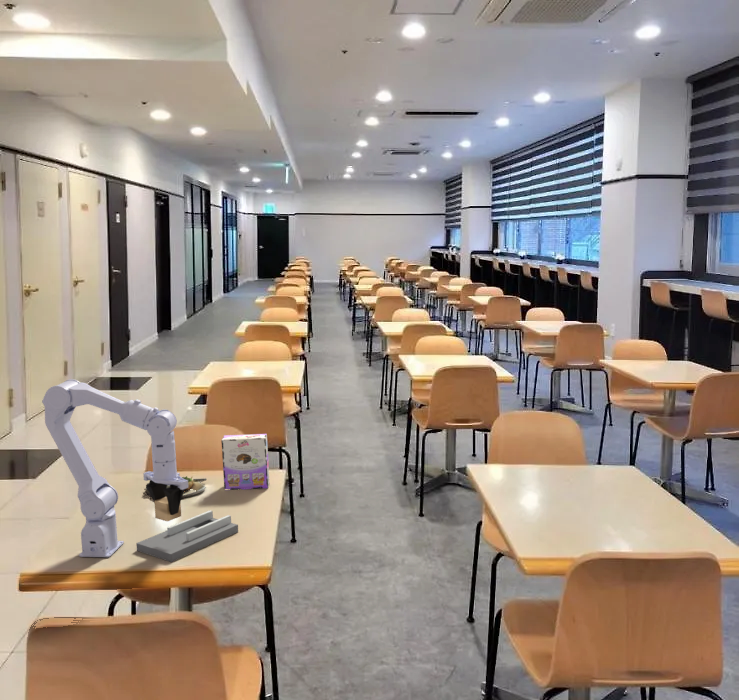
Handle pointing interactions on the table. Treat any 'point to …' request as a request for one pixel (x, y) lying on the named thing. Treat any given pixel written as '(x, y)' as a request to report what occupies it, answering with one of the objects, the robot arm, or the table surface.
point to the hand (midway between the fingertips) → (167, 511)
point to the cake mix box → (245, 461)
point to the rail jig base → (188, 536)
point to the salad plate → (189, 486)
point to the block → (165, 510)
